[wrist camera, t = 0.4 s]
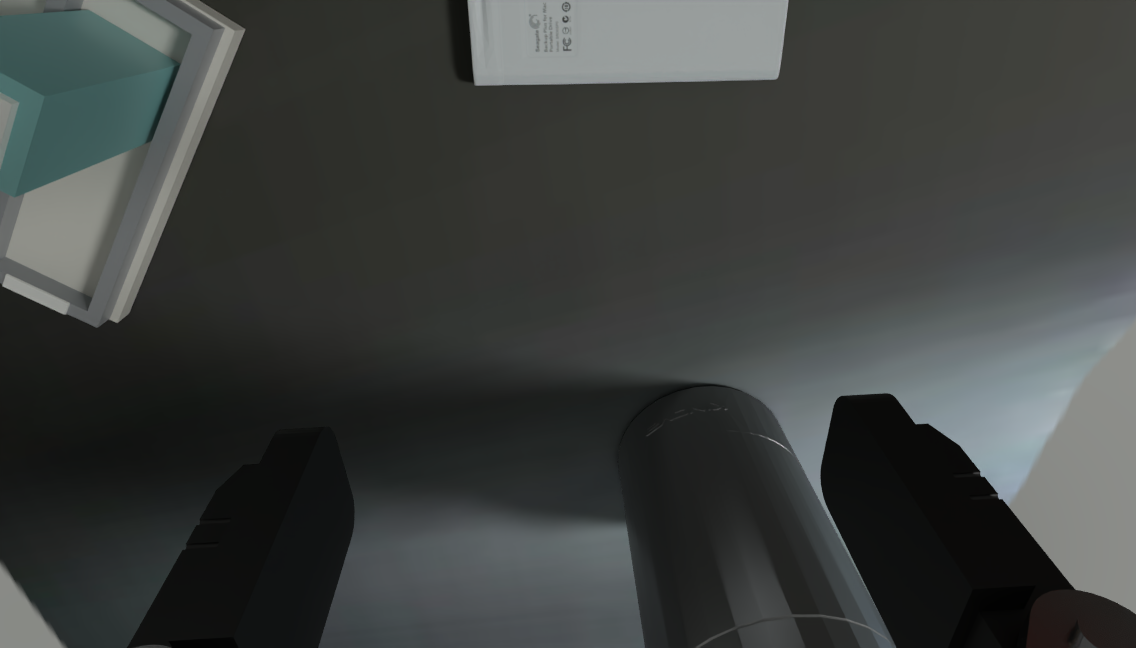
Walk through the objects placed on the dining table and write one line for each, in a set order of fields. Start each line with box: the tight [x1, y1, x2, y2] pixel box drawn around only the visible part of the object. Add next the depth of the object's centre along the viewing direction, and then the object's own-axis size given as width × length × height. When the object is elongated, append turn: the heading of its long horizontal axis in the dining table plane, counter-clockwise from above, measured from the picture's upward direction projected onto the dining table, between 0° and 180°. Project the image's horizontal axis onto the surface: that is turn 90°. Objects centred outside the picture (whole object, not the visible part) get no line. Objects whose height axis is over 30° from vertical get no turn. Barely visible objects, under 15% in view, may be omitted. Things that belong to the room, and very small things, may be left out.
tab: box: [0, 10, 181, 198], centre depth 22 cm, size 4×4×8 cm
